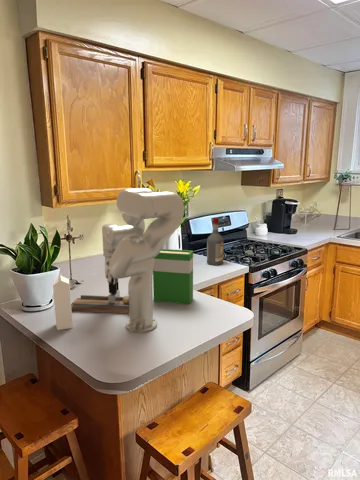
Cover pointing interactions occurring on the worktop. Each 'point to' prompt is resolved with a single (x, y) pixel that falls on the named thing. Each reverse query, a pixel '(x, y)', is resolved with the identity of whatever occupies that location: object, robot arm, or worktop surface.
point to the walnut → (126, 300)
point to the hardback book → (173, 276)
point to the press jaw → (114, 295)
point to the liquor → (215, 246)
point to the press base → (98, 304)
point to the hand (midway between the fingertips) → (113, 291)
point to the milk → (62, 303)
